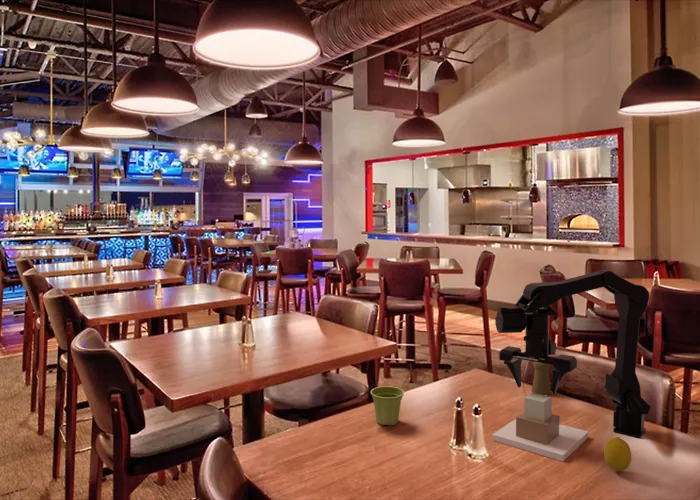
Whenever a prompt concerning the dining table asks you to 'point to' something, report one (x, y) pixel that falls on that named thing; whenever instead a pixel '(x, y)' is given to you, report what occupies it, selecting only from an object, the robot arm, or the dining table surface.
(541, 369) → the cork
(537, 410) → the sage block
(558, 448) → the build board
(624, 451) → the lemon
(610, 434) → the dining table surface
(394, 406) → the plant pot
